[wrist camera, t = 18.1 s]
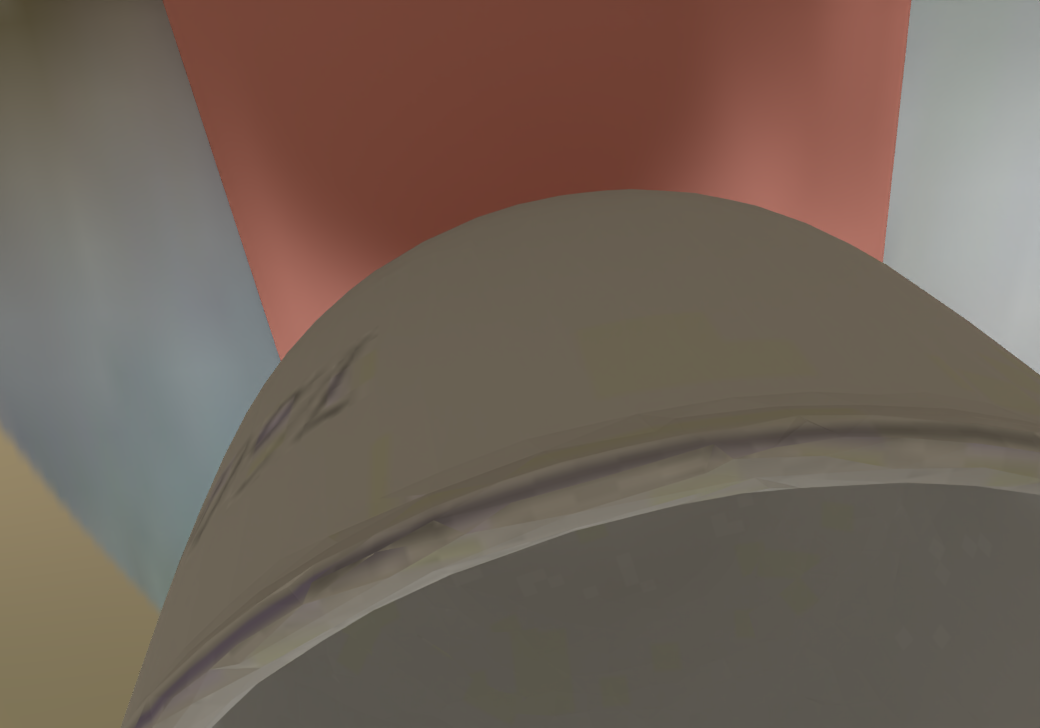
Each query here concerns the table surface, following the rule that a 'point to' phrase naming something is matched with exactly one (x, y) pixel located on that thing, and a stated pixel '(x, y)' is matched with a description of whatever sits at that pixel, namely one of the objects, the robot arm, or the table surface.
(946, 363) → the teacup
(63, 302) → the table surface
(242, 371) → the table surface
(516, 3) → the pink flat slab
